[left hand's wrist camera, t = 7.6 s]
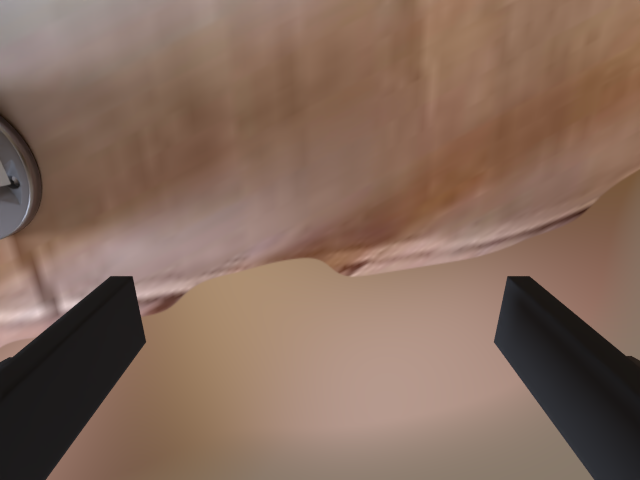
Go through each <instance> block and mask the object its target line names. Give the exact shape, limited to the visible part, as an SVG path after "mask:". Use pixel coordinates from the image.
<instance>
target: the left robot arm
mask: <svg viewBox="0 0 640 480" xmlns="http://www.w3.org/2000/svg"><path fill="white" fill-rule="evenodd" d="M41 193H42V186H41V178H40V173H39V170H38V166H37V164H36V161H35V159H34V156H33V155H32V153H31V151H30V149H29V147H28V146H27V144H26V143H25V141H24V140H23V138H22V137H21V136H20V135H19V133H18V132H17V131H16V130H15V129H14V128H13V127H12V126H11V125H10V124H9V123H8V122H7V121H6V120H5V119H3V118H2V117H1V116H0V239H3V238H5V237H7V236H10V235H12V234H14V233H16V232H18V231H20V230H22V229H23V228H24V227H26V226H27V225H28V224H29V223H30V222H31V221H32V219H33V218H34V216H35V215H36V213H37V211H38V208H39V205H40V201H41ZM145 343H146V340H145V335H144V330H143V325H142V320H141V315H140V310H139V306H138V301H137V296H136V291H135V286H134V281H133V276H110V277H109V278H108V279H107V280H106V281H104V282H103V283H102V284H101V285H99V286H98V287H97V288H96V289H95V290H93V291H92V292H91V293H90V294H89V295H87V296H86V297H85V298H84V299H83V300H81V301H80V302H79V303H78V304H76V305H75V306H74V307H73V308H72V309H70V310H69V311H68V312H67V313H66V314H64V315H63V316H62V317H61V318H60V319H58V320H57V321H56V322H55V323H53V324H52V325H51V326H50V327H49V328H47V329H46V330H45V331H44V332H43V333H41V334H40V335H39V336H38V337H37V338H35V339H34V340H33V341H32V342H30V343H29V344H28V345H27V346H26V347H24V348H23V349H22V350H21V351H20V352H18V353H17V354H16V355H15V356H14V357H9V358H7V359H5V360H3V361H2V362H0V480H46V479H47V477H48V476H49V474H50V473H51V472H52V470H53V469H54V468H55V466H56V465H57V463H58V462H59V461H60V459H61V458H62V457H63V455H64V454H65V452H66V451H67V450H68V448H69V447H70V445H71V444H72V443H73V441H74V440H75V439H76V437H77V436H78V435H79V433H80V432H81V431H82V429H83V428H84V426H85V425H86V424H87V422H88V421H89V420H90V418H91V417H92V415H93V414H94V413H95V411H96V410H97V409H98V407H99V406H100V404H101V403H102V402H103V400H104V399H105V398H106V396H107V395H108V393H109V392H110V391H111V389H112V388H113V387H114V385H115V384H116V382H117V381H118V380H119V378H120V377H121V376H122V374H123V373H124V372H125V370H126V369H127V367H128V366H129V365H130V363H131V362H132V360H133V359H134V358H135V356H136V355H137V354H138V352H139V351H140V350H141V348H142V347H143V345H144V344H145ZM494 343H495V344H496V345H497V347H498V348H499V350H500V351H501V352H502V354H503V355H504V356H505V358H506V359H507V360H508V362H509V363H510V365H511V366H512V367H513V369H514V370H515V372H516V373H517V374H518V376H519V377H520V378H521V380H522V381H523V383H524V384H525V385H526V387H527V388H528V389H529V391H530V392H531V394H532V395H533V396H534V398H535V399H536V400H537V402H538V403H539V404H540V406H541V407H542V409H543V410H544V411H545V413H546V414H547V415H548V417H549V418H550V420H551V421H552V422H553V424H554V425H555V426H556V428H557V429H558V430H559V432H560V433H561V435H562V436H563V437H564V439H565V440H566V442H567V443H568V444H569V446H570V447H571V448H572V450H573V451H574V452H575V454H576V455H577V457H578V458H579V459H580V461H581V462H582V463H583V465H584V466H585V468H586V469H587V470H588V472H589V473H590V474H591V476H592V477H593V479H594V480H640V361H639V360H638V359H636V358H634V357H632V356H625V355H624V354H623V353H622V352H620V351H619V350H618V349H617V348H616V347H614V346H613V345H612V344H611V343H610V342H608V341H607V340H606V339H605V338H603V337H602V336H601V335H600V334H599V333H597V332H596V331H595V330H594V329H593V328H591V327H590V326H589V325H588V324H586V323H585V322H584V321H583V320H582V319H580V318H579V317H578V316H577V315H576V314H574V313H573V312H572V311H571V310H570V309H568V308H567V307H566V306H565V305H564V304H562V303H561V302H560V301H559V300H557V299H556V298H555V297H554V296H553V295H551V294H550V293H549V292H548V291H547V290H545V289H544V288H543V287H542V286H541V285H539V284H538V283H537V282H536V281H534V280H533V279H532V278H531V277H530V276H508V277H507V281H506V286H505V291H504V296H503V301H502V306H501V311H500V315H499V320H498V325H497V330H496V335H495V339H494Z"/></svg>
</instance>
